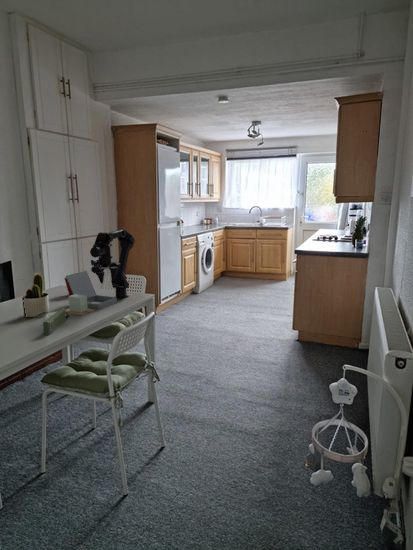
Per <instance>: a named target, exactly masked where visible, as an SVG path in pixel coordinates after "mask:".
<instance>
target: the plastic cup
mask: <svg viewBox="0 0 413 550" xmlns="http://www.w3.org/2000/svg"><path fill="white" fill-rule="evenodd" d="M63 279H64V281H65V285H66V288H67V292H68V296H71V295H73V293H72V290H71V288H70V286H69V283H68V281H67V278H66V276H63Z"/></svg>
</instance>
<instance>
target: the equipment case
mask: <svg viewBox="0 0 413 550" xmlns="http://www.w3.org/2000/svg"><path fill="white" fill-rule="evenodd" d="M65 277H66V278H67V281H68V283H69V286H70V288H71V290H72V293H73V295H74V294H78V295H86V296H87V307H88V308H92V309H96V311H98V310H101V309H105V308H106V307H109V306H111V305H114V304H116V303H117V302H118V298H116V296H108V295H102V294H101V295H100V294H97V292H96V290H95V288H94V285H93V284H92V281H91V278H90V275H89V274H88V271H87V270H83V271H80V272H76V273H72V274H69V275H67V274H66V275H65ZM94 301H102V302H100V303H92V302H94Z"/></svg>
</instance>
